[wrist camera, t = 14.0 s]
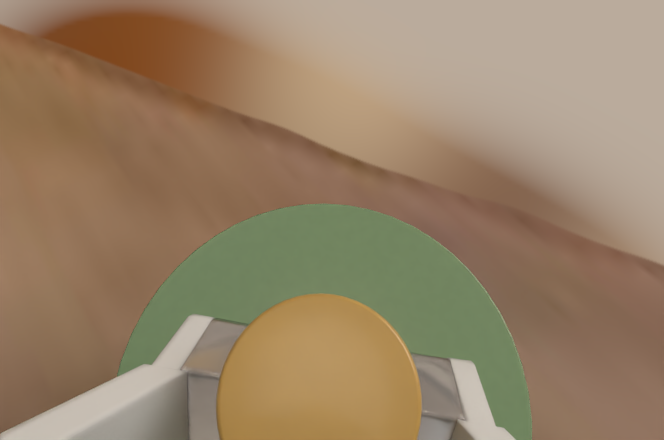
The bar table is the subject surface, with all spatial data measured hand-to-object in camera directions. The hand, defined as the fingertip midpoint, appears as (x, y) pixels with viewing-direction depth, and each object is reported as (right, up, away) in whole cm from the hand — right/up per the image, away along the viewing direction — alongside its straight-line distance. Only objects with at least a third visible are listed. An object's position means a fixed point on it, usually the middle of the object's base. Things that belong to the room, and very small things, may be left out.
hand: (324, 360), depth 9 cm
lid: (0, -2, +3) cm, 3 cm away
